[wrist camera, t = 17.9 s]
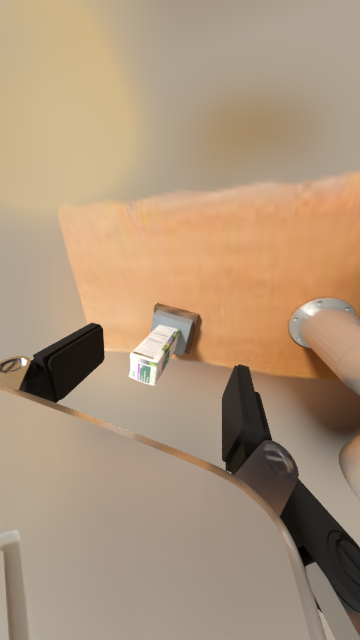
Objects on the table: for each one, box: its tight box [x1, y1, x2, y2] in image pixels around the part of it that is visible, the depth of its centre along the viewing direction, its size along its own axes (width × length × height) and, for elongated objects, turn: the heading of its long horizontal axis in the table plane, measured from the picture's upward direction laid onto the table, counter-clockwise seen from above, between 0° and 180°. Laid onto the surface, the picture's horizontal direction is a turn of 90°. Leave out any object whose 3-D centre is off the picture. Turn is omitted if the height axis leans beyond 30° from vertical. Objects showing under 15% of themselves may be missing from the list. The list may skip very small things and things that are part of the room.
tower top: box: [151, 310, 193, 356], centre depth 43 cm, size 10×10×3 cm
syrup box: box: [129, 324, 180, 386], centre depth 36 cm, size 6×6×14 cm
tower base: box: [154, 303, 199, 354], centre depth 46 cm, size 12×12×3 cm
